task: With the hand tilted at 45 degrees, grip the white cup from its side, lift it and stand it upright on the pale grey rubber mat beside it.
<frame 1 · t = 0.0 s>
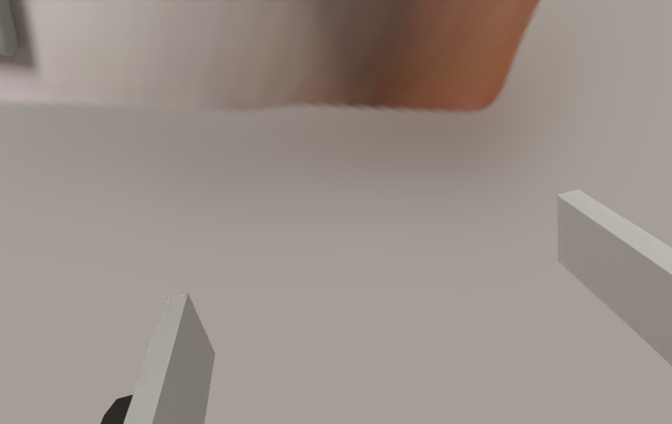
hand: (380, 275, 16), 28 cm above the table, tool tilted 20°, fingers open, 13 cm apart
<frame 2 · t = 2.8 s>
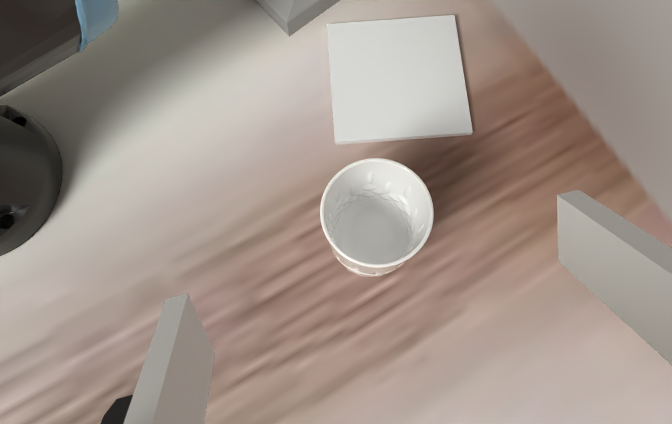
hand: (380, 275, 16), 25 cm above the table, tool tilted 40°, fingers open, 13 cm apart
white cup: (369, 240, 42), on the table
mat: (396, 79, 46), on the table
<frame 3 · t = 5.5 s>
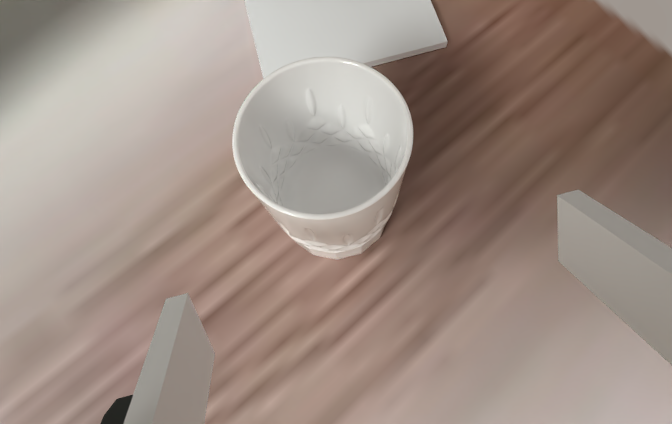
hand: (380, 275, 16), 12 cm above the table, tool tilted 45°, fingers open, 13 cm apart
white cup: (336, 209, 30), on the table
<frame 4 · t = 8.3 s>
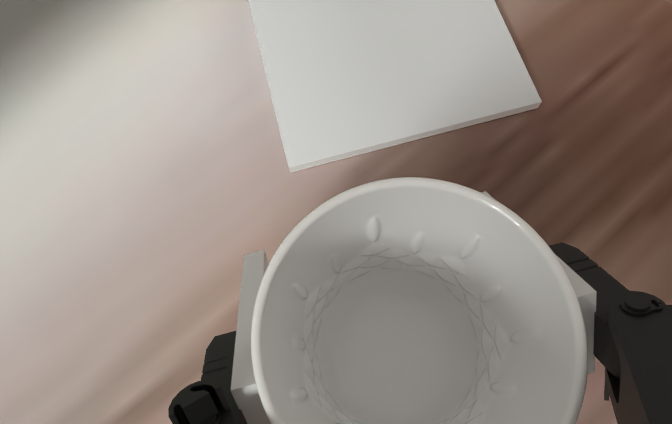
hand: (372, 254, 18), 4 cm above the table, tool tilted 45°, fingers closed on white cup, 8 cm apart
white cup: (392, 350, 21), on the table, touching gripper
mat: (379, 38, 26), on the table
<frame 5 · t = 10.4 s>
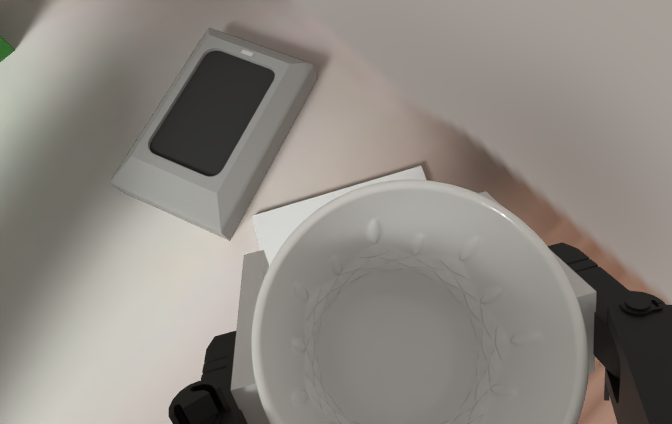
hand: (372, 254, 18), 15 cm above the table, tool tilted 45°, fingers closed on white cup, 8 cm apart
white cup: (392, 351, 21), point 11 cm above the table, touching gripper
grey box: (225, 137, 38), on the table
mat: (363, 275, 33), on the table
when the fingers open (6 cm above the table, at t = 12.9 s): white cup drops 1 cm, resting on mat.
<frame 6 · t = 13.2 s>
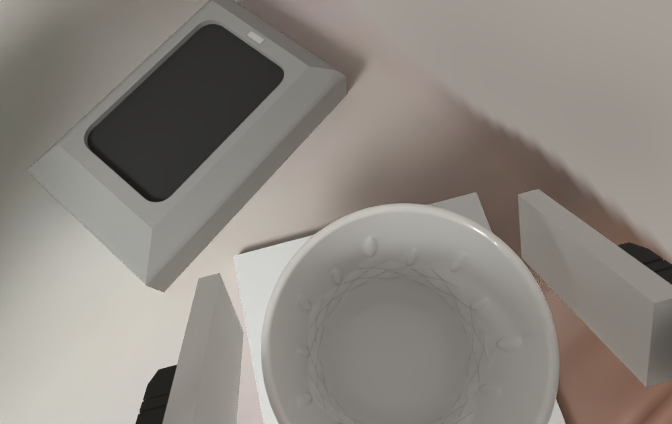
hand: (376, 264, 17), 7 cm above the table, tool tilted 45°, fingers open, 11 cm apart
white cup: (390, 353, 22), resting on mat
grey box: (204, 144, 28), on the table
mat: (390, 351, 23), on the table
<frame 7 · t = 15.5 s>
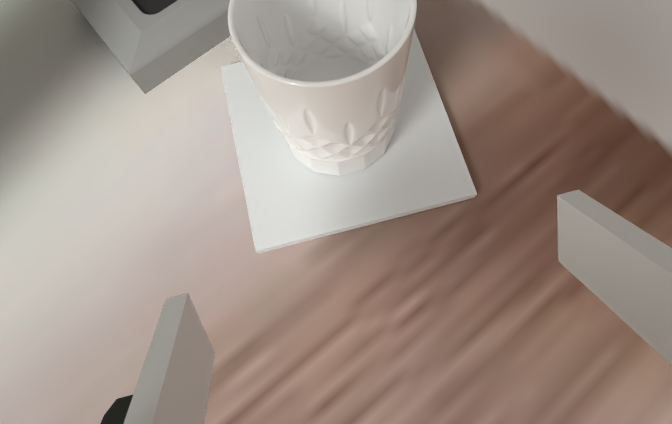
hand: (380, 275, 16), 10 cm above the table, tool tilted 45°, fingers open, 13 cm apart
white cup: (339, 128, 29), resting on mat
mat: (339, 130, 29), on the table
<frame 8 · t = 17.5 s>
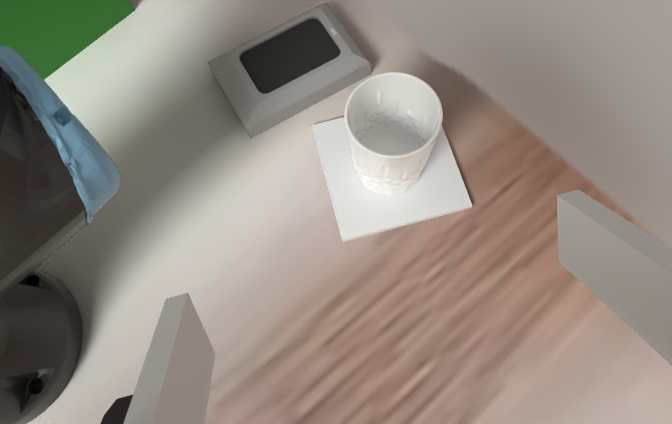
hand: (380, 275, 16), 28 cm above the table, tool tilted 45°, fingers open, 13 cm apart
white cup: (388, 165, 47), resting on mat
grey box: (292, 77, 53), on the table
mat: (388, 166, 48), on the table
hardback book: (59, 39, 56), on the table
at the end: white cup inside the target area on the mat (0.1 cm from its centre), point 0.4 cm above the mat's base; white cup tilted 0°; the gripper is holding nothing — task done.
